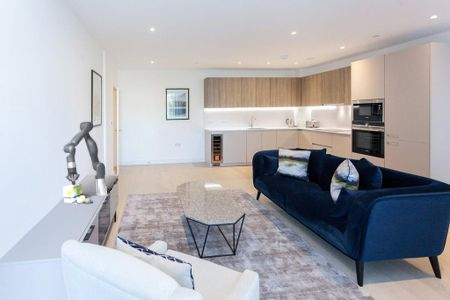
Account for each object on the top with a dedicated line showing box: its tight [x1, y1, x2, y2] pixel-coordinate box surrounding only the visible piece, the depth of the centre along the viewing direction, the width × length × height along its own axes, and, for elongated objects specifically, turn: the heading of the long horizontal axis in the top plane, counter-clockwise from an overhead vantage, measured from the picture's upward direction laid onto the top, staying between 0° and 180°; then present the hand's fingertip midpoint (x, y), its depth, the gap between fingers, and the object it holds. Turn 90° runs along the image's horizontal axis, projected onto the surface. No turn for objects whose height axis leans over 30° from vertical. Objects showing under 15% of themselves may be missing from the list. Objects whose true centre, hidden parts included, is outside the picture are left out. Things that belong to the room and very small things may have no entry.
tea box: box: [63, 183, 84, 203], centre depth 343 cm, size 15×10×15 cm, turn 168°
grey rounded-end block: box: [84, 197, 92, 205], centre depth 328 cm, size 5×5×5 cm
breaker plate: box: [71, 199, 93, 206], centre depth 333 cm, size 14×11×2 cm
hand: (73, 185), depth 330 cm, fingers closed
